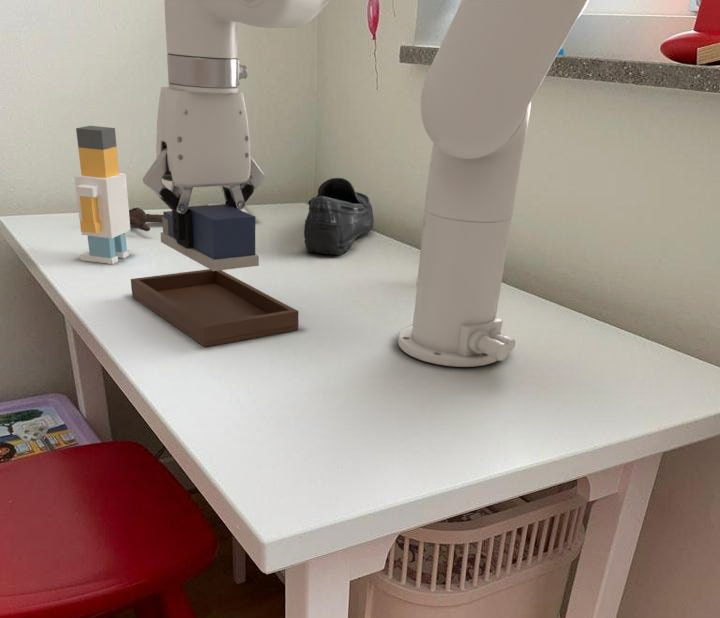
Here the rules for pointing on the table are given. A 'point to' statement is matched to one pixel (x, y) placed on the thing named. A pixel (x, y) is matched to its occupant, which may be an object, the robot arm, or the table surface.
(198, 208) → the blue stair step block
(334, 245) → the loafer
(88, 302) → the table surface
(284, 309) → the tray
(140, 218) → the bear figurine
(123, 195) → the character figure
